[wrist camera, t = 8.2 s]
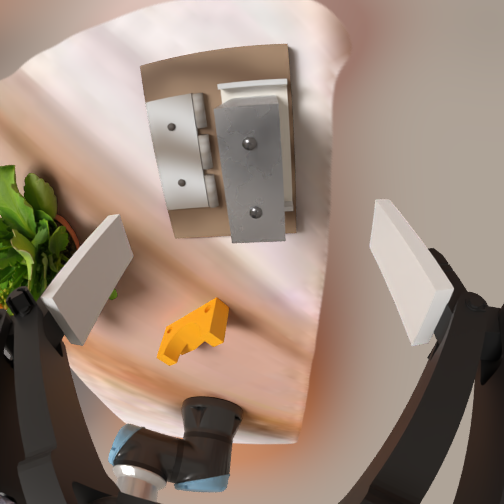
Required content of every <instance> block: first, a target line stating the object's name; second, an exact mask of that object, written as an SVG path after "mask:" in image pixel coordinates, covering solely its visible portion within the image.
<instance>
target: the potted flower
mask: <svg viewBox="0 0 504 504" xmlns="http://www.w3.org/2000/svg"><path fill="white" fill-rule="evenodd" d="M24 191H25V192H24V197H23V196H22V195H21V194H20V193H19V190H18V187H17V184H16V174H15V165H5V166H0V215H1V217H2V218H0V309H2V308H3V309H5V310H7V313H8V314H9V316H14V315H13V313H12V312H11V310H10V309H9V307H8V306H7V304H6V299H7V297H8V296H9V294H10V293H11V292H12V291H14V290H15V289H17V288H18V287H21V286H26V287H27V288H28V289H29V291H30V293H31V295H32V296H33V298H34V300H35V301H37V300H38V298H39V297H40V296H41V294H42V293H43V292H44V290H45V289H46V287H47V286H48V285H49V284H50V282H51V281H52V280H53V278H55V276H56V274H57V273H58V272H59V271H60V270H61V269H62V268H63V267H64V266H65V264H66V263H67V262H68V261H69V259H70V258H71V257H72V256H73V255H74V253H75V252H76V251H77V250H78V249H79V248H80V246H79V240H78V238H77V236H76V234H75V232H74V230H73V229H72V228H71V226H70V225H69V223H68V222H67V221H66V220H65V219H64V218H63V217H61V216H60V215H58V214H57V203H56V202H57V198H56V195H54V191H53V188H52V187H50V185H49V183H48V182H47V183H45V181H44V180H43V179H41V178H39V177H38V176H37V175H36V174H33V173H29V174H28V175H27V177H25V186H24ZM25 199H26V200H25ZM49 278H50V279H49ZM116 297H117V292H116V290H115V288H114V290H113V292H112V293H111V295H110V297H109V298H108V299H111V300H113V299H115V298H116Z"/></svg>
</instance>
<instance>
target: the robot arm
mask: <svg viewBox="0 0 504 504" xmlns="http://www.w3.org/2000/svg"><path fill="white" fill-rule="evenodd" d="M369 247H370V249H371V252H372V254H373V256H374V258H375V260H376V262H377V264H378V266H379V268H380V271H381V273H382V275H383V277H384V279H385V282H386V284H387V286H388V288H389V291H390V293H391V295H392V298H393V300H394V303H395V305H396V307H397V310H398V312H399V315H400V317H401V320H402V322H403V325H404V327H405V330H406V333H407V335H408V338H409V341H410V343H411V346H416V345H421V344H427V343H429V341H430V339H431V337H432V335H433V333H434V334H435V337H436V339H437V342H436V344H435V346H434V348H433V349H432V351H431V353H430V354H429V356H428V359H429V360H428V362H427V365H426V367H425V369H424V371H423V373H422V376H421V378H420V380H419V382H418V384H417V386H416V388H415V390H414V392H413V394H412V396H411V398H410V400H409V402H408V404H407V405H406V408H405V409H404V411H403V413H402V415H401V416H400V418H399V420H398V422H397V423H396V425H395V427H394V428H393V430H392V432H391V433H390V435H389V437H388V438H387V440H386V441H385V443H384V445H383V446H382V448H381V449H380V451H379V452H378V454H377V455H376V457H375V458H374V459H373V461H372V462H371V464H370V465H369V467H368V468H367V469H366V471H365V472H364V473H363V475H362V476H361V477H360V479H359V480H358V481H357V483H356V484H355V485H354V486H353V488H352V489H351V490H350V492H349V493H348V494H347V495H346V496H345V497H344V498H343V499H342V500H341V501H340V502H339V503H338V504H420V503H421V501H422V499H423V497H424V496H425V494H426V493H427V491H428V489H429V487H430V486H431V484H432V482H433V480H434V478H435V477H436V475H437V473H438V471H439V469H440V467H441V465H442V463H443V461H444V459H445V457H446V455H447V452H448V450H449V448H450V446H451V444H452V441H453V439H454V437H455V434H456V432H457V429H458V427H459V424H460V421H461V419H462V416H463V414H464V411H465V408H466V405H467V402H468V399H469V396H470V393H471V390H472V386H473V383H474V380H475V385H474V400H473V412H472V419H471V427H470V434H469V440H468V446H467V451H466V456H465V461H464V466H463V471H462V474H461V478H460V482H459V486H458V489H457V493H456V496H455V499H454V502H453V504H504V304H503V306H502V307H501V308H495V307H489V306H488V305H487V303H486V301H485V300H484V299H483V298H482V297H481V296H479V295H478V294H476V293H473V292H467V290H466V288H465V287H464V285H463V284H462V282H461V281H460V279H459V278H458V276H457V275H456V273H455V272H454V271H453V269H452V268H451V266H450V265H448V262H447V261H446V259H445V258H444V256H443V255H442V254H441V253H439V252H438V251H437V250H435V249H434V248H430V249H428V248H427V247H426V246H425V244H424V243H423V242H422V240H421V239H420V238H419V236H418V235H417V234H416V232H415V231H414V230H413V228H412V227H411V226H410V224H409V223H408V222H407V220H406V219H405V218H404V217H403V215H402V214H401V213H400V212H399V210H398V209H397V208H396V207H395V206H394V204H393V203H392V202H391V201H390V200H389V199H376V200H375V208H374V217H373V224H372V231H371V238H370V245H369ZM133 257H134V256H133V253H132V250H131V247H130V244H129V241H128V238H127V236H126V233H125V230H124V226H123V223H122V220H121V217H120V214H117V215H109V216H107V218H106V219H105V220H104V221H103V222H102V223H101V224H100V225H99V226H98V227H97V228H96V229H95V231H94V232H93V233H92V234H91V235H90V236H89V237H88V238H87V239H86V241H85V242H84V243H83V244H82V245H81V246H80V248H79V249H78V250H77V251H76V252H75V253H74V255H73V256H72V257H71V258H70V259H69V261H68V262H67V263H66V264H65V266H64V267H63V268H62V269H61V270H60V271H59V272H58V273H57V274H56V276H55V278H53V280H52V281H51V282H50V284H49V285H48V286H47V287H46V289H45V290H44V292H43V293H42V294H41V296H40V297H39V298H38V300H37V301H35V300H34V298H33V296H32V295H31V293H30V291H29V289H28V288H27V287H26V286H21V287H18V288H17V289H15V290H14V291H12V292H11V293H10V294H9V296H8V297H7V299H6V304H7V306H8V307H9V309H10V310H11V312H12V313H13V315H14V316H9V314H8V313H7V311H6V310H5V309H3V308H2V309H0V504H160V503H157V502H156V500H157V493H158V490H160V489H162V488H164V487H165V486H166V482H167V481H168V482H172V483H175V484H174V486H175V489H177V490H184V491H193V492H222V491H224V490H225V489H226V488H227V484H228V478H229V476H230V474H229V472H230V461H231V451H232V442H233V437H234V435H235V433H236V431H237V429H238V427H239V425H240V423H241V421H242V414H243V411H242V409H241V408H240V407H239V406H237V405H235V404H233V403H231V402H228V401H225V400H222V399H217V398H211V397H191V398H188V399H186V400H184V402H183V405H182V417H183V423H184V430H185V432H184V437H183V439H179V438H175V437H172V436H168V435H165V434H161V433H158V432H155V431H152V430H148V429H146V428H145V427H139V426H136V425H133V424H126V425H124V426H123V427H122V428H121V429H120V431H119V432H118V434H117V436H116V438H115V440H114V442H113V445H112V448H111V450H110V454H109V463H110V464H112V465H113V473H114V474H115V475H116V477H117V483H116V484H115V483H114V482H113V481H112V480H111V479H110V478H109V477H108V475H107V474H106V472H105V470H104V468H103V466H102V464H101V461H100V459H99V457H98V454H97V452H96V449H95V447H94V444H93V442H92V439H91V437H90V434H89V431H88V428H87V425H86V423H85V420H84V417H83V413H82V410H81V407H80V404H79V401H78V398H77V394H76V390H75V387H74V383H73V379H72V375H71V371H70V366H69V362H68V357H67V353H66V348H65V345H64V343H63V341H62V338H63V336H64V335H65V336H66V337H67V339H68V340H69V342H70V343H71V344H76V345H82V346H83V345H84V343H85V341H86V339H87V337H88V335H89V333H90V331H91V329H92V328H93V326H94V324H95V322H96V320H97V318H98V316H99V315H100V313H101V311H102V309H103V307H104V306H105V304H106V302H107V300H108V298H109V297H110V295H111V293H112V292H113V290H114V288H115V286H116V285H117V283H118V281H119V280H120V278H121V276H122V275H123V273H124V271H125V270H126V268H127V266H128V265H129V263H130V262H131V260H132V258H133ZM4 348H5V349H6V350H7V351H8V353H9V354H10V355H11V358H10V360H9V359H8V358H7V357H6V356H5V355H4Z"/></svg>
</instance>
